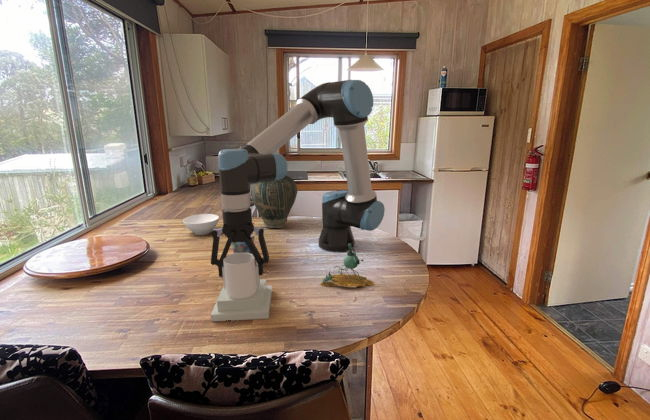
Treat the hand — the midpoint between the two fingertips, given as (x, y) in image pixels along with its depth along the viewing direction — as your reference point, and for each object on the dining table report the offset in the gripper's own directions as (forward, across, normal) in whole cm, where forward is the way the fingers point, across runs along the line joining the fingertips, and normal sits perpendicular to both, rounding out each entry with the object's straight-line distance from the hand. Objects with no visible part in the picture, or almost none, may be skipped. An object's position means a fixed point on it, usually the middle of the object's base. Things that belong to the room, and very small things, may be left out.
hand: (242, 285), depth 96 cm
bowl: (+6, +29, -68) cm, 74 cm away
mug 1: (+6, +4, -32) cm, 33 cm away
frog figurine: (+6, -32, -11) cm, 34 cm away
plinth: (+6, 0, 0) cm, 6 cm away
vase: (+6, -5, -74) cm, 75 cm away
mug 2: (+1, 0, 0) cm, 1 cm away
